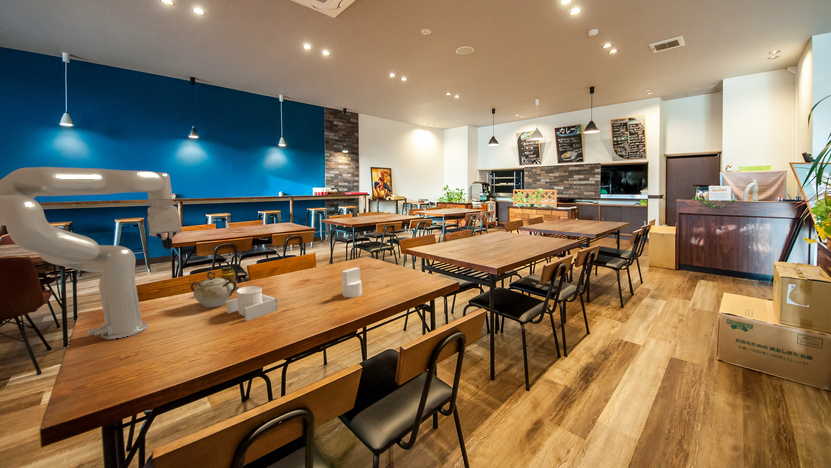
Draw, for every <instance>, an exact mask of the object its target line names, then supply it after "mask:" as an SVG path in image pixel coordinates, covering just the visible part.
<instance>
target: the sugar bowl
mask: <svg viewBox="0 0 831 468" xmlns="http://www.w3.org/2000/svg"><path fill="white" fill-rule="evenodd" d="M210 274H211V275H213V277H212V276H210ZM206 277H207V279H205V280H203V281H202V282H200V281H193V282H192V283H191V284H190V289H191V291H192V292H193V297H194V299H195V300H196V301H197V302H199V304H201V305H202V306H203V307H204V308H207V309H209V308H210V309H211V308H212V309H214V308H217V307H218V308H219V307H222V306H224V305H226V301H229V300H230V299H231V296H232V295H233V293H234V292H233V291H234V290H235V288H236V285H237V282H236V283H235V281H233V280H230V281H228V280H227V279H223V278H221V277H217V275H216V273H215V272H213V271H209V272H207V275H206ZM232 283H233V284H234V288H233V285H232ZM194 285H195V286H194Z"/></svg>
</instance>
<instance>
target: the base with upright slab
mask: <svg viewBox="0 0 831 468" xmlns="http://www.w3.org/2000/svg"><path fill="white" fill-rule="evenodd" d="M341 275H342V276H341V277H342V281H341V285H342V286H341V288H342V296H343V297H344V298H357V297H360V296H361V295H362V294H363V287H362V285H363V284H362V280H361V268H360V267H352V268H349V269H345V270H342V271H341Z"/></svg>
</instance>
